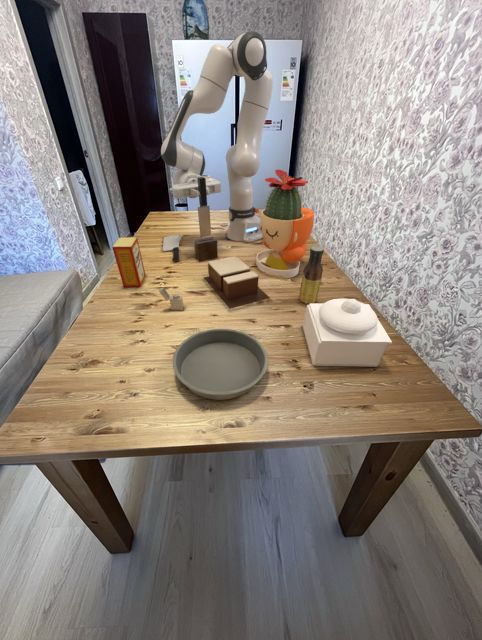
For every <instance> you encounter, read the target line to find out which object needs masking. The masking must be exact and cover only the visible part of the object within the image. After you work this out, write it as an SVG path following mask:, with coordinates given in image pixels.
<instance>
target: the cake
mask: <svg viewBox="0 0 482 640" xmlns="http://www.w3.org/2000/svg"><path fill="white" fill-rule="evenodd" d="M207 270H208V271H207V272H208V276H209V278H210V279H211V281H212V282H213V283H214V284H215V285H216V286H217V287H218V288H219V290H220V291H224V287H223V278H225V277H229V276H233V275H238V274H242V273H247V272H251V268H250V267H249V266H248V265H247V264H246V263H245V262H243V260H241V259H240V258H238V256H229V257H225V258H220V259H213V260H211V261H210V260H208V261H207Z"/></svg>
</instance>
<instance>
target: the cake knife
mask: <svg viewBox="0 0 482 640" xmlns="http://www.w3.org/2000/svg"><path fill="white" fill-rule="evenodd" d="M197 179H198V190H199V191H200V194H201V196H198V202H199V206H198V207H197V215H198V227H199V228H198V229H199V237H200V238H207V237H212V226H211V223H212V222H211V209H210V205H208V195H207V193H206V178H204V177H198V178H197Z"/></svg>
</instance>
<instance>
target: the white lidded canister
mask: <svg viewBox="0 0 482 640" xmlns="http://www.w3.org/2000/svg"><path fill="white" fill-rule="evenodd" d="M302 329H303V334H304V336H305V341H306V345H307V348H308V353H309V357H310V360H311V364H312V366H318V367H319V366H321V367H322V366H323V367H325V366H327V367H370V368H371V367H372V368H373V367H375V368H377V367H379V365H380V363H381V361H382V359H383V356H384V354H385V352H386V350H387V349H388V346H389V345H392V343H393V340H392V339H391V338H390V336H389V335H388V333H387V331H386V329H385V328H384V327H383V325H382V323H381V322H380V319H379V318H378V316H377V313H376V312H375V311H374V310H373V308H372V307H371V305H370V304H369V303H363V302H362V301H359V300H357V299H356V298H343V297H341V298H332V299H329V300H327V301H325V302H323V303H317V302H316V303H310V304H309V305H308V304H306V308H305V312H304V317H303V323H302Z"/></svg>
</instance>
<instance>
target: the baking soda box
mask: <svg viewBox="0 0 482 640" xmlns="http://www.w3.org/2000/svg"><path fill="white" fill-rule="evenodd" d="M111 249H112V251H113V254H114V258H115V262H116V265H117V268H118V272H119V276H120V279H121V283H122V286H123V288H141V287H142V285H143V282H144V280H145V278H146V276H147V275H146V271H145V266H144V262H143V257H142V253H141V248H140V244H139V239H138V236H123V237H122V236H120V237H119V238H118V239H117V240H116V241H115V243H114V244H113V246H112V247H111Z"/></svg>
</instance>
